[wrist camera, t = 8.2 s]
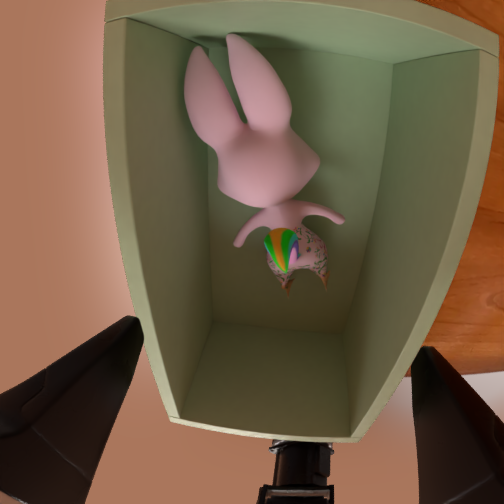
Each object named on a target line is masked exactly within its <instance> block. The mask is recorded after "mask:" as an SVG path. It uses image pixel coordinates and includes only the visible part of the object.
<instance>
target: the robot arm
mask: <svg viewBox="0 0 504 504" xmlns="http://www.w3.org/2000/svg"><path fill="white" fill-rule="evenodd" d="M143 343H144V333H143V329H142V326H141V322H140V319H139V318H138V317H134V316H125V317H123V318H122V319H120V320H119V321H117V322H116V323H114V324H112V325H111V326H109V327H108V328H107V329H105V330H103V331H102V332H100V333H98V334H97V335H95V336H94V337H92V338H91V339H89V340H88V341H86V342H85V343H83V344H81V345H80V346H78V347H77V348H75V349H74V350H72V351H71V352H69V353H68V354H66V355H65V356H63V357H61V358H60V359H58V360H57V361H55V362H54V363H52V364H51V365H49V366H48V367H47V368H46V369H43V370H41V371H40V372H38V373H37V374H35V375H34V376H32V377H30V378H29V379H27V380H26V381H24V382H22V383H20V384H18V385H17V386H15V387H13V388H11V389H9V390H7V391H5V392H3V393H2V394H0V504H85V501H86V498H87V495H88V492H89V490H90V487H91V484H92V480H93V478H94V475H95V472H96V469H97V467H98V464H99V461H100V459H101V456H102V453H103V451H104V448H105V445H106V443H107V440H108V438H109V435H110V433H111V430H112V427H113V425H114V423H115V420H116V418H117V415H118V413H119V410H120V408H121V405H122V403H123V400H124V398H125V396H126V393H127V391H128V389H129V386H130V384H131V381H132V378H133V375H134V372H135V368H136V365H137V362H138V359H139V355H140V352H141V349H142V346H143ZM411 381H412V407H413V417H414V426H415V436H416V446H417V459H418V476H419V504H504V423H503V422H502V421H501V420H500V418H499V417H498V416H497V415H495V413H494V412H493V410H492V409H491V408H490V407H489V406H488V405H487V404H486V403H485V401H484V400H483V399H482V398H481V397H480V396H479V395H478V394H477V392H476V391H475V390H474V389H473V388H472V387H471V386H470V385H469V384H468V383H467V381H466V380H465V379H464V378H463V377H462V376H461V375H460V374H459V373H458V372H457V371H456V370H455V369H454V368H453V366H452V365H451V364H450V363H449V362H448V361H447V360H446V359H445V358H444V357H443V356H442V355H441V354H440V353H439V352H438V351H437V350H436V349H435V348H434V347H432V346H423V347H421V348H420V350H419V351H418V353H417V355H416V357H415V359H414V360H413V362H412V365H411ZM269 451H270V452H272V453H274V454H276V462H275V469H274V477H273V485H267V484H264V485H263V487H260V489H259V496H258V500H257V503H256V504H334V485H329V486H327V477H329V476H330V455H332V454H334V450H332V449H330V448H328V447H326V446H324V445H322V444H320V443H318V442H306V441H292V442H288V443H284V444H281V445H277V446H273V447H269ZM324 497H327V498H324Z"/></svg>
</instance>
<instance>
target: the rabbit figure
mask: <svg viewBox="0 0 504 504" xmlns="http://www.w3.org/2000/svg"><path fill="white" fill-rule="evenodd" d="M226 41H227V47H228V55H229V65H230V71H231V75H232V79H233V82H234V85H235V88H236V90H237V93H238V96H239V99H240V102H241V105H242V108H243V110H244V113H245V115H246V117H247V120H248V123H247V124H245V123H243V122H242V121H241V119H240V117H239V114H238V112H237V110H236V107H235V105H234V103H233V101H232V98H231V96H230V94H229V92H228V90H227V88H226V86H225V84H224V82H223V80H222V78H221V76H220V75H219V73H218V71H217V69H216V68H215V67H214V65H213V64H212V62H211V61H210V60H209V58H208V57H207V55H206V53H205V52H204V50H203V48H202V47H201V46H196V47H195V48H194V49H193V50H192V52H191V55H190V58H189V60H188V64H187V68H186V73H185V80H184V99H185V104H186V108H187V111H188V115H189V118H190V121H191V124H192V126H193V128H194V130H195V132H196V133H197V135H198V136H199V137H200V138H201V139H202V140H203V141H204V142H205V143H207V144H208V145H210V146H211V147H212V148H214V150H215V151H216V153H217V157H218V179H217V185H218V188H219V189H220V191H222V192H223V193H224V194H226V195H227V196H229V197H231V198H233V199H235V200H237V201H239V202H241V203H244V204H246V205H249V206H253V207H260V208H263V209H261V210H260V211H259V212H257V213H256V214H254V215H253V216H252V217H251V218H250V219H249V220H248V221H247V222H246V223H245V224H244V225H243V226H242V228H241V229H240V230H239V232H238V234H237V235H236V237H235V239H234V241H233V244H234V246H235V247H241V246H242V245H243V244H244V242H245V239H246V237H247V235H248V234H249V233H250V232H251V231H253V230H254V229H256V228H258V227H260V226H266V227H269V228H270V229H271V230H272V231H270V232H269V233H268V234H267V236H266V237H265V239H264V244H265V247H266V249H267V257H266V258H267V263H268V265H269V267H270V268H271V269H272V271H273V273H274V274H275V276H276V277H277V279H278V280H279V281H280V283H281V287H282V289H285V290H286V292H287V297H288V299H289V292H290V288H291V284H292V283H293V280H296V279H295V278H293V279H292V280H289V279H290V277H291V275H292V273H293V271H294V270H295V269H300V268H309V269H310V270H311V271H313V272H314V273H315V274H316V275H318V276H319V277H320V278H321V279H322V281H323V283H324V285H325V290H326V292H327V287H326V286H327V281H328V278H329V276H330V274H329V273H331V272H330V271H328V273H326V270H327V262H328V252H327V248H326V245H325V243H324V241H323V240H322V239H321V238H320V237H319V236H318V235H316V234H315V233H314V232H312V231H311V230H309V229H308V228H306V227H305V226H304V225H303V223H302V219H303V218H304V217H305V216H307V215H321V216H325V217H327V218H329V219H331V220H332V221H333V222H335V223H336V224H343V223H344V222H345V217H344V216H343V215H342V214H340V213H338V212H336V211H334V210H332V209H330V208H328V207H325V206H323V205H319V204H315V203H312V202H307V201H299V200H294V199H291V198H292V197H294V196H295V195H296V194H297V193H298V192H299V191H300V190H301V189H302V188H303V187H304V186H305V185H306V184H307V183H308V182H309V180H310V179H311V178H312V177H313V175H314V174H315V172H316V171H317V169H318V167H319V165H320V158H319V156H318V155H317V154H316V153H315V152H314V151H313V150H312V149H311V148H310V147H309V146H308V145H307V144H306V143H305V142H304V141H303V140H302V139H301V138H300V137H299V136H298V135H297V134H296V133H295V132H294V131H293V130H292V128H291V126H290V117H291V113H292V104H291V100H290V97H289V95H288V92H287V90H286V88H285V87H284V85H283V83H282V82H281V80H280V78H279V77H278V75H277V73H276V72H275V70H274V69H273V67H272V66H271V65H270V63H269V62H268V61H267V60H266V59H265V57H264V56H263V55H262V54H261V53H260V52H259V51H257V50H256V49H255V48H254V47H253V46H252V45H251V44H249V43H248V42H247V41H246V40H244V39H243V38H241V37H240V36H238V35H236V34H228V35H227V36H226Z"/></svg>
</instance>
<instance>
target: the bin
mask: <svg viewBox="0 0 504 504" xmlns="http://www.w3.org/2000/svg"><path fill="white" fill-rule="evenodd" d="M104 21H105V22H107V23H105V26H104V48H103V50H104V51H103V99H104V122H105V137H106V149H107V160H108V169H109V178H110V186H111V194H112V200H113V208H114V214H115V220H116V227H117V232H118V238H119V243H120V249H121V254H122V259H123V263H124V268H125V273H126V277H127V282H128V286H129V290H130V294H131V299H132V303H133V307H134V311H135V314H136V317H138V318H139V319H140V322H141V326H142V329H143V333H144V347H145V350H146V353H147V356H148V360H149V363H150V366H151V369H152V372H153V375H154V378H155V381H156V384H157V387H158V390H159V392H160V395H161V398H162V401H163V404H164V406H165V409H166V411H167V414H168V417H169V420H170V421H171V422H175V423H179V424H183V425H188V426H193V427H197V428H202V429H207V430H213V431H218V432H224V433H230V434H237V435H244V436H252V437H260V438H268V439H278V440H290V441H306V442H359V441H360V440H361V439H362V437H363V436H364V434H365V433H366V432H367V431H368V429H369V428H370V427H371V425H372V424H373V423H374V421H375V420H376V418H377V417H378V415H379V414H380V412H381V411H382V410H383V408H384V407H385V405H386V404H387V402H388V401H389V399H390V397H391V396H392V395H393V393H394V392H395V390H396V388H397V387H398V385H399V384H400V382H401V380H402V379H403V377H404V375H405V374H406V372H407V370H408V369H409V367H410V365H411V363H412V362H413V360H414V358H415V356H416V355H417V353H418V351H419V349H420V347H421V345H422V344H423V342H424V340H425V338H426V336H427V334H428V332H429V330H430V328H431V326H432V324H433V322H434V320H435V318H436V316H437V314H438V311H439V309H440V307H441V305H442V303H443V300H444V298H445V296H446V294H447V291H448V289H449V287H450V284H451V282H452V279H453V277H454V274H455V272H456V269H457V267H458V264H459V261H460V259H461V256H462V253H463V250H464V248H465V245H466V242H467V239H468V236H469V233H470V230H471V226H472V223H473V220H474V217H475V213H476V210H477V206H478V202H479V199H480V195H481V191H482V187H483V183H484V178H485V174H486V169H487V165H488V160H489V154H490V149H491V143H492V137H493V130H494V123H495V115H496V105H497V94H498V78H499V58H498V57H499V36H498V35H497V34H495V33H493V32H491V31H489V30H487V29H485V28H483V27H481V26H479V25H477V24H475V23H473V22H471V21H468V20H466V19H464V18H461V17H459V16H457V15H454V14H452V13H449V12H447V11H444V10H441V9H439V8H436V7H433V6H430V5H427V4H424V3H421V2H418V1H415V0H108V1H106V8H105V20H104ZM228 34H236V35H238V36H240V37H241V38H243V39H244V40H246V41H247V42H248V43H249V44H251V45H252V46H253V47H254V48H255V49H256V50H257V51H259V52H260V53H261V54H262V55H263V56H264V57H265V59H266V60H267V61H268V62H269V63H270V65H271V66H272V67H273V69H274V70H275V72H276V73H277V75H278V77H279V78H280V80H281V82H282V83H283V85H284V87H285V88H286V90H287V92H288V95H289V97H290V100H291V104H292V113H291V117H290V126H291V128H292V130H293V131H294V132H295V133H296V134H297V135H298V136H299V137H300V138H301V139H302V140H303V141H304V142H305V143H306V144H307V145H308V146H309V147H310V148H311V149H312V150H313V151H314V152H315V153H316V154H317V155H318V156H319V158H320V165H319V167H318V169H317V171H316V172H315V174H314V175H313V177H312V178H311V179H310V180H309V182H308V183H307V184H306V185H305V186H304V187H303V188H302V189H301V190H300V191H299V192H298V193H297V194H296V195H295V196H294V197H292V198H291V199H294V200H299V201H307V202H312V203H315V204H319V205H323V206H325V207H328V208H330V209H332V210H334V211H336V212H338V213H340V214H342V215H343V216H344V217H345V222H344V223H343V224H336V223H335V222H333V221H332V220H331V219H329V218H327V217H325V216H321V215H307V216H305V217H304V218H303V219H302V223H303V225H304V226H305V227H306V228H308V229H309V230H311V231H312V232H314V233H315V234H316V235H318V236H319V237H320V238H321V239H322V240H323V241H324V243H325V245H326V248H327V252H328V262H327V270H326V273H328V271H330V272H331V273H329V274H330V276H329V278H328V281H327V286H326V287H327V292H326V290H325V285H324V283H323V281H322V279H321V278H320V277H319V276H318V275H316V274H315V273H314V272H313V271H311V270H310V269H309V268H300V269H295V270H294V271H293V273H292V275H291V277H290V279H289V280H292V279H293V278H295V279H296V280H293V283H292V284H291V288H290V292H289V299H288V297H287V292H286V290H285V289H282V287H281V283H280V281H279V280H278V279H277V277H276V276H275V274H274V273H273V271H272V269H271V268H270V267H269V265H268V263H267V258H266V257H267V249H266V247H265V244H264V239H265V237H266V236H267V234H268V233H269V232H270V231H272V230H271V229H270V228H269V227H266V226H260V227H258V228H256V229H254V230H253V231H251V232H250V233H249V234H248V235H247V237H246V239H245V242H244V244H243V245H242V246H241V247H235V246H234V244H233V241H234V239H235V237H236V235H237V234H238V232H239V230H240V229H241V228H242V226H243V225H244V224H245V223H246V222H247V221H248V220H249V219H250V218H251V217H252V216H253V215H254V214H256V213H257V212H259V211H260V210H261V209H263V208H260V207H253V206H249V205H246V204H244V203H241V202H239V201H237V200H235V199H233V198H231V197H229V196H227V195H226V194H224V193H223V192H222V191H220V189H219V188H218V185H217V179H218V157H217V153H216V151H215V150H214V148H212V147H211V146H210V145H208V144H207V143H205V142H204V141H203V140H202V139H201V138H200V137H199V136H198V135H197V133H196V132H195V130H194V128H193V126H192V124H191V121H190V118H189V115H188V111H187V108H186V104H185V99H184V80H185V73H186V68H187V64H188V60H189V58H190V55H191V52H192V50H193V49H194V48H195V47H196V46H201V47H202V48H203V50H204V52H205V53H206V55H207V57H208V58H209V60H210V61H211V62H212V64H213V65H214V67H215V68H216V69H217V71H218V73H219V75H220V76H221V78H222V80H223V82H224V84H225V86H226V88H227V90H228V92H229V94H230V96H231V98H232V101H233V103H234V105H235V107H236V110H237V112H238V114H239V117H240V119H241V121H242V122H243V123H245V124H247V123H248V120H247V117H246V115H245V113H244V110H243V108H242V105H241V102H240V99H239V96H238V93H237V90H236V88H235V85H234V82H233V79H232V75H231V71H230V65H229V55H228V47H227V41H226V36H227V35H228Z"/></svg>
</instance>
